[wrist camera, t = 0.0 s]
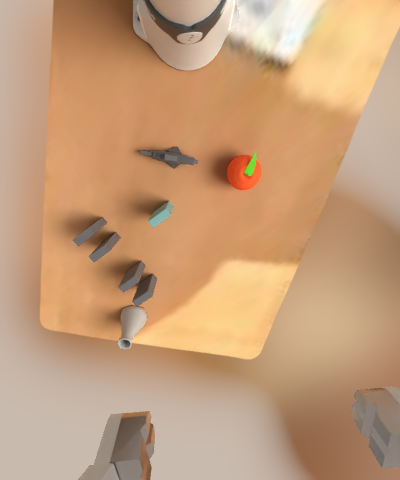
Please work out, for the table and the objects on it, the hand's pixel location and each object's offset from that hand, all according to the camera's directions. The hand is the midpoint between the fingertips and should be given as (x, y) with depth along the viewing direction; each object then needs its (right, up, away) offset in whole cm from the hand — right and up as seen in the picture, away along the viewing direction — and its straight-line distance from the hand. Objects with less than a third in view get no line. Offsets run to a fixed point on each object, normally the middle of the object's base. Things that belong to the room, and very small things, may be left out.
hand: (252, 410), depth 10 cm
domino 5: (-10, +14, +46) cm, 49 cm away
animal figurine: (-8, +24, +42) cm, 49 cm away
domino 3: (-18, 0, +51) cm, 54 cm away
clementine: (+7, +22, +43) cm, 49 cm away
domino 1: (-26, +10, +47) cm, 54 cm away
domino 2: (-23, +7, +48) cm, 54 cm away
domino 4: (-15, -4, +52) cm, 54 cm away
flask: (-20, -13, +56) cm, 61 cm away
